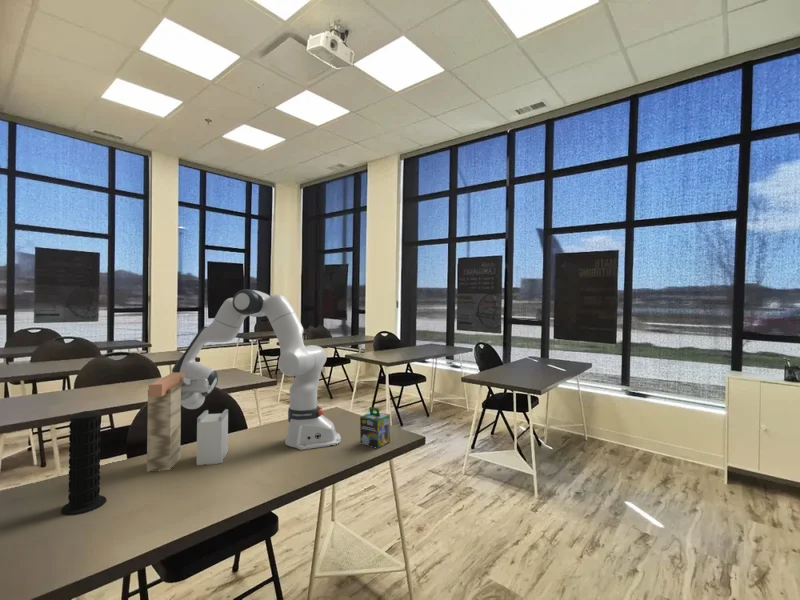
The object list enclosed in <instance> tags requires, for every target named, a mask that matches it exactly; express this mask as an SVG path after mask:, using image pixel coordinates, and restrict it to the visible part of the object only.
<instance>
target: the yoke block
mask: <svg viewBox="0 0 800 600" xmlns="http://www.w3.org/2000/svg"><path fill="white" fill-rule="evenodd" d="M196 419H197V420H196V423H197V424H196V466H204V465H203V464H207V465H216V464H217V465H219V464H218V463H221V464H222V463H223V462H224V460H223V459H225V458H226V456H227V455H226V454H228V453H227V452H228V449H229V448H228V447H229V440H228V439H229V438H228V437H229V436H228V435H229V434H228V433H229V409H228V408H224V410H223V411H222V413H209V409H206V410H204V411H202V413H201V414H200V415H199V416H198V417H197V418H196Z"/></svg>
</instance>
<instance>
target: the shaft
mask: <svg viewBox="0 0 800 600" xmlns="http://www.w3.org/2000/svg"><path fill="white" fill-rule="evenodd" d="M180 377H185V372H174V373H172V372H171V373H169V374H168V375H166V376H164V377H161V378H160V379H156V380H157V381H155V382H153V383H151V384H148V390H149V391H148V390H147V398H148V397H161V396H164V395H165V394H167V393H168V389H169V388H171V387H173V386H174V385H176V384H178V383H180ZM181 384H183V383H181Z"/></svg>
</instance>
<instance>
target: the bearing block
mask: <svg viewBox="0 0 800 600" xmlns="http://www.w3.org/2000/svg"><path fill="white" fill-rule="evenodd" d="M148 391H149V389H147V392H148ZM181 408H182V405H181V383H178V384H176V385H174V386H173V387H171V388H169V389H168V393H167V394H165V395H164V396H161V397H148V396H147V439H146V440H147V441H146V472H147V471H158V472H162V471H161V470H170V469H171V468H172V467H173V468H174V467H175V465H176V464H177V463H178V462H179V461H180V460H181V432H182V431H181V429H182V427H181V424H182V422H181V421H182V419H181V418H182V415H181V414H182V413H181V412H182V411H181V410H182V409H181ZM179 459H180V460H179ZM178 460H179V461H178ZM177 461H178V462H177ZM176 462H177V463H176ZM175 463H176V464H175ZM173 468H172V469H173ZM172 469H171V470H172ZM159 470H160V471H159ZM171 470H170V471H171Z"/></svg>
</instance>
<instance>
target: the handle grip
mask: <svg viewBox="0 0 800 600" xmlns="http://www.w3.org/2000/svg"><path fill="white" fill-rule="evenodd" d="M101 414H102V413H101V412H100V411H95V410H93V411H92V410H91V411H90V410H84V411H81V412H78V413H77V412H76V413H74V414H71V415H70V416H69V420H70V422H69V424H68V425H69V426H68V428H69V432H68V433H69V436H68V440H69V442H68V445H69V447H68V453H69V455H68V457H69V459H68V464H69V465H68V469H69V470H68V492H69V494H68V498H67V499H68V503H66V504H65V505H63V506H62V508H61V509H60V514H61V515H65V516H76V515H83V514H86V513H90V512H92V511H94V509H95V510H97V509H98V508H101V507H102V506H104V505H105V504H106V503H107V498H106V496H104V495H101V494H100V493H101V488H100V485H101V483H100V481H101V475H100V474H101V471H100V469H101V464H100V463H101V459H100V458H101V453H100V452H101V435H102V434H101V433H102V432H101V421H102V420H101ZM89 511H90V512H89Z"/></svg>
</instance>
